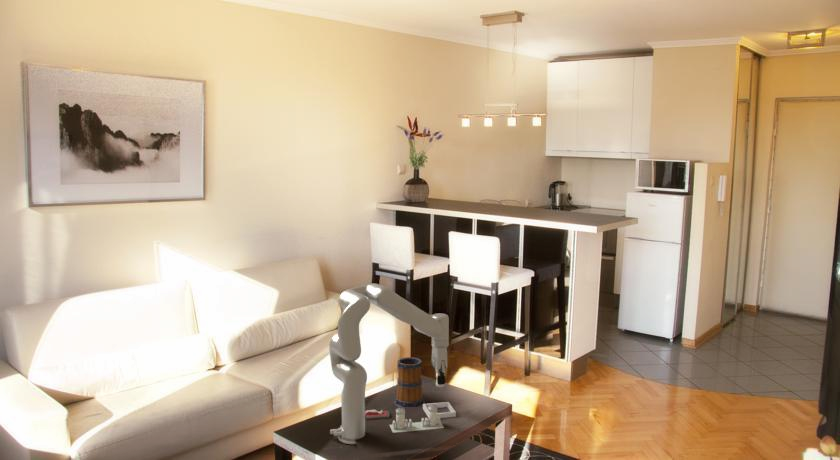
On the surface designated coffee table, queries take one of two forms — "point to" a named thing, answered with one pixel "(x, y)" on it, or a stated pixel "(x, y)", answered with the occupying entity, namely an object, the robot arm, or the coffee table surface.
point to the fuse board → (416, 425)
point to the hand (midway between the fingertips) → (439, 381)
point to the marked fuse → (437, 380)
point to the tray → (440, 405)
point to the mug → (409, 383)
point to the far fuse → (432, 415)
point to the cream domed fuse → (400, 418)
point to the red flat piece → (376, 414)
